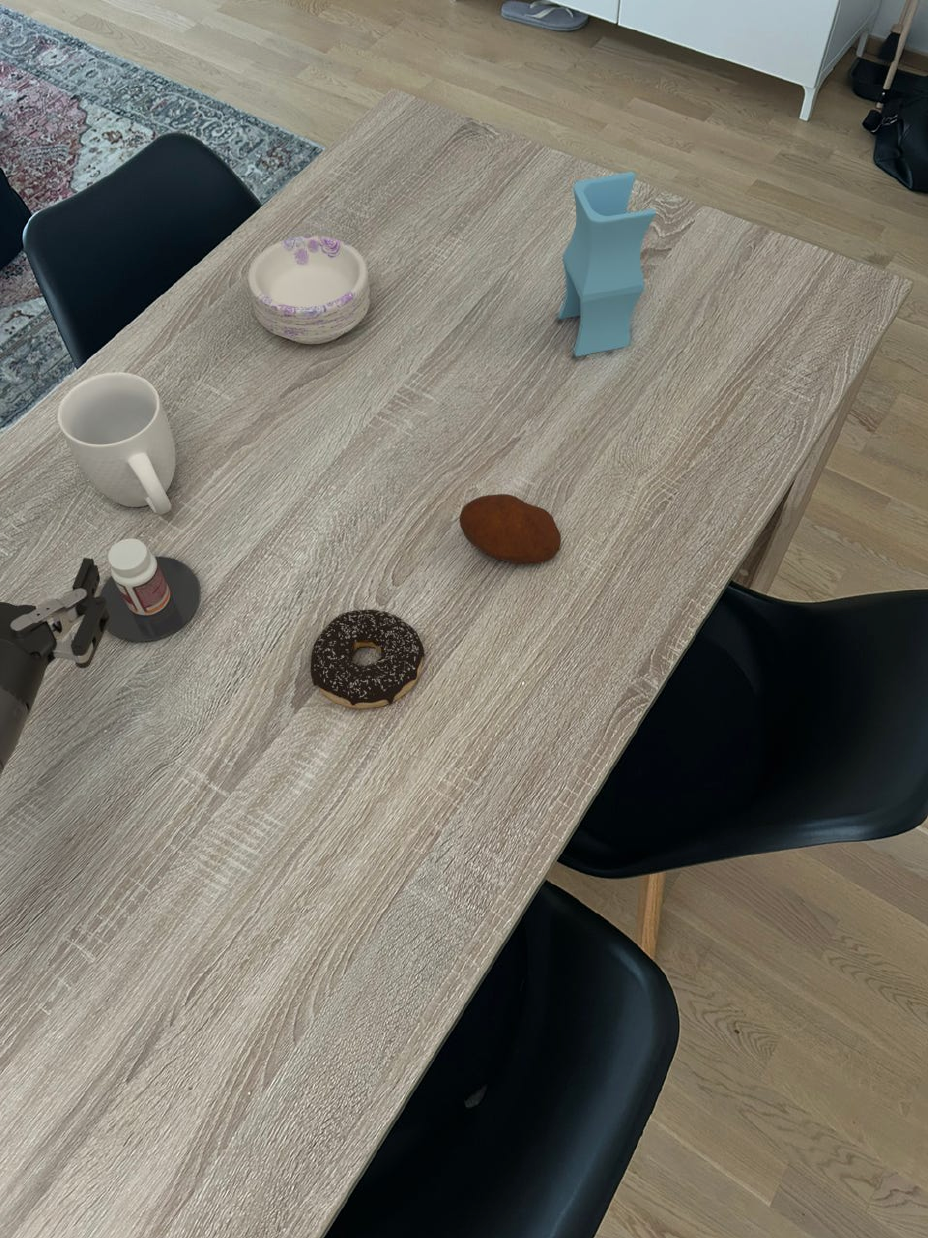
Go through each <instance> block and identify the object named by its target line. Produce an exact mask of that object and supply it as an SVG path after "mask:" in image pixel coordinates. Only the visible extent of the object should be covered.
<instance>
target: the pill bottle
mask: <svg viewBox="0 0 928 1238" xmlns="http://www.w3.org/2000/svg"><path fill="white" fill-rule="evenodd" d="M155 557H156V556H155V555H154V554H153V553H152V552H151V551H149V549H148V547H147V546H146V544H145V543H144V542H143V541H142V540H140V539H137V538H133V537H132V538H129V537H128V538H124V539H121V540H119V541H117V542H116V543H114V544H113V545H112V546H111V548H110V549H109V551H108V554H107V560H108V563H109V565H110V574H111V576H112V577H113V579H114V581H115V583H116V585H117V587H118V588H119V590H120V592H121V594H122V596H123V598H124V600H125V602H126V603H127V605H128V607H129V609H130V610H131V611H133V612H134V613H136V614H139V615H152V614H155V613H157V612H159V611H161V610H162V609H163V608H164V607H165V606H166V605H167V603H168V601H169V599H170V590H169V587H168V585H167V583H166V581H165V579H164V576H163V574H162V572H161V570H160V568H159V565H158V563H157V561H156V559H155Z"/></svg>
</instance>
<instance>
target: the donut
mask: <svg viewBox="0 0 928 1238" xmlns="http://www.w3.org/2000/svg"><path fill="white" fill-rule="evenodd" d="M364 647H371V648H374V649H376V650H377V651H378V652H379V653H380V654H381V655H380V657H379V658H378V659H377V660H376V661H374V662H373V663H370V664H368V665H365V664H364V665H363V664H362V665H361V664H358V663H356V662H354V661H353V655H354V653H355V651H356V650H358V649H359V648H364ZM424 657H426V654H425V648H424V645H423V642H422V640H421V638H420V636H419V634H418V632H417V631H416V630H415V629H414V628H413V627H412V626H411V625H410V624H408V622H406V621H404V620H403V619H402V618H401V617H398V616H397V615H396V614H392V613H391V612H390V613H389V612H387V611H383V610H377V609H354V610H349V611H346V612H343V613H341V614H339V615H337V616H336V617H334V618H333V619H332V620H331V621H330V622H329V623H328V624H327V625H326V627H325V628H324V629H323V630H322V631H321V633H320V634H319V635H318V637H317V638H316V640H315V642H314V644H313V646H312V652H311V655H310V676H311V679H312V684H313V687H317V688H318V689H319V691H320V692H321V694H323V696H325V697H326V698H328V699H329V700H330V701H332V702H333V703H335V704H338V705H340V706H342V707H345V708H352V709H359V710H361V709H371V708H372V709H373V708H380V707H383V706H386V705H392V704H393V703H394V702H396V701H397V700H398V699H400V698H402V697H403V696H404V695H406V693H408V692H409V691H410V690H411V689H412V688H413V687H414V685H415V683H417V681H418V679H419V676H420V674H421V672H422V667H423V658H424Z"/></svg>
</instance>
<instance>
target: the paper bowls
mask: <svg viewBox="0 0 928 1238" xmlns="http://www.w3.org/2000/svg"><path fill="white" fill-rule="evenodd" d="M247 286H248V289H249V290H248V291H249V297H250V301H251V307H252V309H253V312H254V315H255V317H256V319H257V321H258V322H259V323H260V324H261V325H262V327H264V328H265V329H266V330H268V331H269V332H271V333H272V334H274V335H276V336H280V337H282V338H285V339H287V340H290V341H293V342H295V343H298V344H303V345H321V344H325V343H329V342H332V341H334V340H337V339H338V338H339V337H341V336H343V335H344V334H345V333H348V332H349V331H351V330H352V329H354V328H355V327H356V326H358V324H360V323H361V322H362V320H363V319H364V318H365V317H366V316H367V314H368V312H369V308H370V305H371V289H370V278H369V270H368V265H367V263H366V260H365V258H364V257H363V256H362V254H361V253H360V252H359V251H358V250H357V249H356V248H355V247H353V246H352V245H351V244H349V243H347V242H346V241H343V240H340V239H338V238H334V237H331V236H325V235H324V236H323V235H300V236H293V237H290V238H286V239H283V240H280V241H277V242H275V243H273V244H271V245H270V246H268V247H266V248H265V249H263V250H262V251H261V252H260V253H258V254H257V256H256V257H255V258H254V259H253V261H251V265H250V266H249V269H248V271H247Z"/></svg>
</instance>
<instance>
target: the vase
mask: <svg viewBox="0 0 928 1238" xmlns="http://www.w3.org/2000/svg"><path fill="white" fill-rule="evenodd" d="M636 177H637V176H636V173H635V172H634V171H628V172H622V173H617V174H610V175H604V176H599V177H592V178H586V179H582V180H579V181H577V182H576V183H575V184H574V185H573V196H574V202H575V216H576V218H575V227H574V230H573V233H572V237H571V239H570V240H569V242H568V245H567V247H566V248H565V250H564V252H563V255H562V263H563V269H564V276H565V277H564V278H565V293H564V298H563V302H562V305H561V308H560V309H559V312H558V314H557V317H558V319H559V320H565V319H571V318H575V317H580V318H579V326H578V331H577V337H576V340H575V346H574V349H573V354H574V356H575V357H580V356H586V355H592V354H597V353H603V352H608V351H613V350H617V349H622V348H623V349H624V348H626V347H628V346H629V345H630V344H631V322H632V321H631V320H632V316H633V313H634V310H635V308H636V306H637V303H638V301H639V300H640V299H641V297H642V294H643V292H644V290H645V280H644V276H643V271H642V263H641V251H642V245H643V241H644V238H645V236H646V234H647V231H648V230H649V227H650V226H651V224H652V222H653V220H654V219H655V217H656V215H657V212H656V210H655V208H648V209H642V210H636V211H632V212H627V211H628V208H629V202H630V198H631V196H632V192H633V187H634V185H635V181H636Z"/></svg>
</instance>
